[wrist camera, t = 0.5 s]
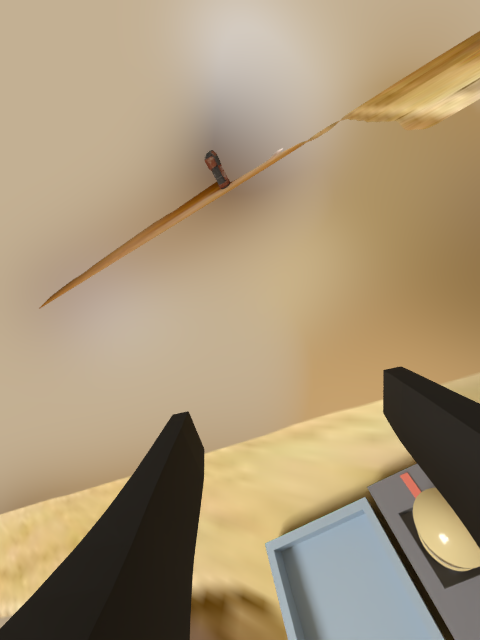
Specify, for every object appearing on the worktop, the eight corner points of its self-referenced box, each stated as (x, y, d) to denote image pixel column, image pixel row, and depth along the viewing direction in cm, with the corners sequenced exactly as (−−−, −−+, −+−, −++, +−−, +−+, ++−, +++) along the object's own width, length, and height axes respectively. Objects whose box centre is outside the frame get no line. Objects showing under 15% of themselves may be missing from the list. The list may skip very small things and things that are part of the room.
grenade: (226, 188, 112) (208, 153, 102) (217, 190, 117) (199, 157, 108) (235, 181, 113) (218, 146, 104) (226, 183, 119) (209, 150, 110)
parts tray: (476, 693, 13) (480, 705, 12) (326, 744, 14) (317, 759, 13) (369, 501, 20) (365, 497, 19) (274, 545, 22) (264, 543, 20)
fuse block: (638, 580, 13) (660, 580, 12) (459, 645, 14) (461, 652, 13) (486, 438, 20) (490, 428, 18) (370, 492, 21) (366, 486, 20)
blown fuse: (493, 560, 15) (514, 552, 11) (444, 579, 16) (448, 579, 12) (447, 500, 18) (451, 477, 14) (406, 519, 18) (398, 501, 14)
